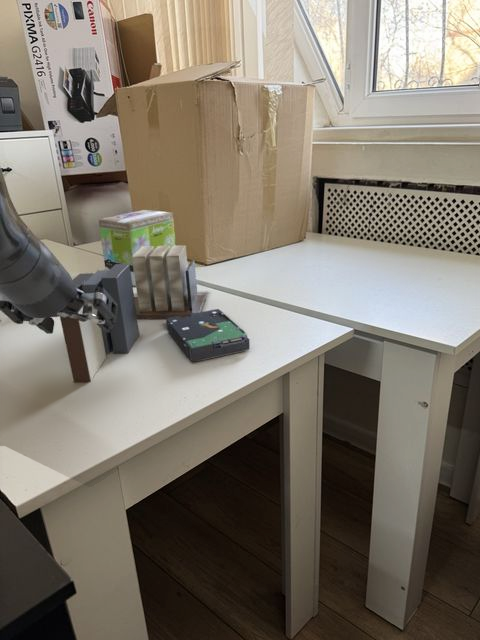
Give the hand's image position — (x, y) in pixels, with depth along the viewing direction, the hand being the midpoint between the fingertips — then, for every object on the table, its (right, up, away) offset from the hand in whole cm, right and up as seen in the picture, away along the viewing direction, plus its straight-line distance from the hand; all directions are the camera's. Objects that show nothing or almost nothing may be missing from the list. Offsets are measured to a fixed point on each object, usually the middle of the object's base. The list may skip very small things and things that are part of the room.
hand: (79, 327), depth 75 cm
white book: (0, -6, +4) cm, 8 cm away
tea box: (-2, +15, +50) cm, 52 cm away
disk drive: (+17, -2, +13) cm, 22 cm away
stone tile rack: (+4, +5, +28) cm, 29 cm away
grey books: (0, -2, +13) cm, 13 cm away
